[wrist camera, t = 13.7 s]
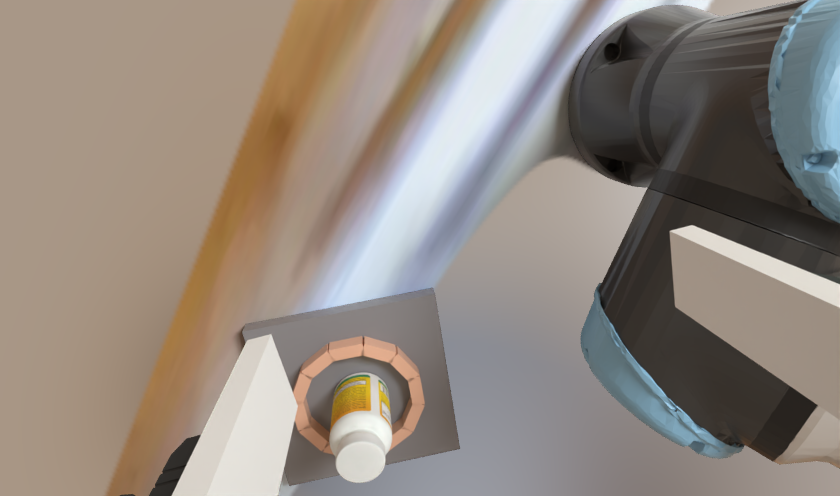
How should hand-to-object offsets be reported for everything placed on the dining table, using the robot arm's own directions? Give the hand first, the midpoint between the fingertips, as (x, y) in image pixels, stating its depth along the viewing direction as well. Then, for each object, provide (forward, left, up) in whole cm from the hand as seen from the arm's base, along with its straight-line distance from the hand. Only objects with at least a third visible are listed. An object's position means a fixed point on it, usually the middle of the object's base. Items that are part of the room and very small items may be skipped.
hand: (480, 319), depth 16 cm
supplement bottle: (+8, +20, -28) cm, 36 cm away
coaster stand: (+8, +20, -30) cm, 37 cm away
